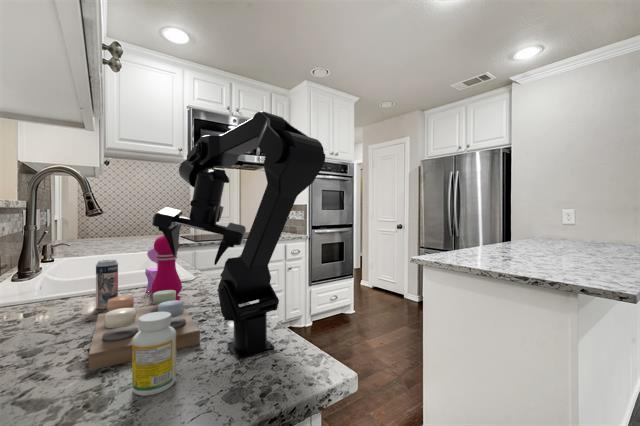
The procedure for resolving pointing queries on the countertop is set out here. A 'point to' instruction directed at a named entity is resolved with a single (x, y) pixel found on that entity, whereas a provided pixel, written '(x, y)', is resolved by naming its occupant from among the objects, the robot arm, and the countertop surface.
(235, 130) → the robot arm
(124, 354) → the wooden button board
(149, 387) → the supplement bottle
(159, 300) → the sage button
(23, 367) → the countertop surface
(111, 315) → the cream button
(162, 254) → the pepper mill
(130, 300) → the terracotta button
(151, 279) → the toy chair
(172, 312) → the slate blue button
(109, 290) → the beer can
